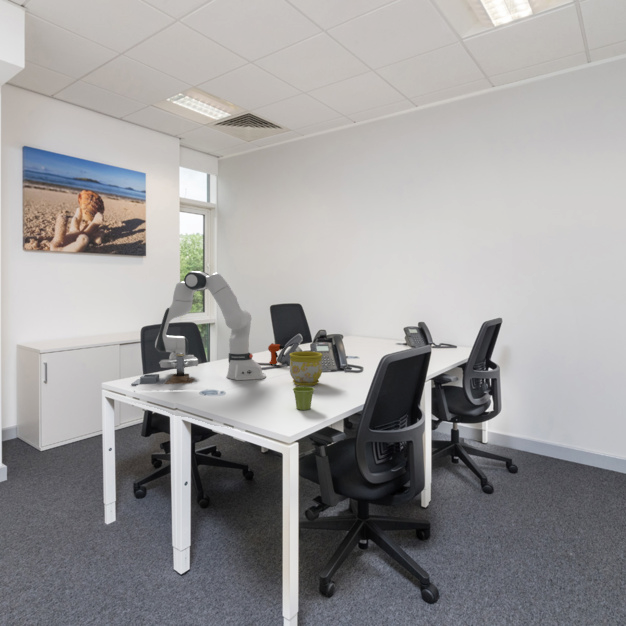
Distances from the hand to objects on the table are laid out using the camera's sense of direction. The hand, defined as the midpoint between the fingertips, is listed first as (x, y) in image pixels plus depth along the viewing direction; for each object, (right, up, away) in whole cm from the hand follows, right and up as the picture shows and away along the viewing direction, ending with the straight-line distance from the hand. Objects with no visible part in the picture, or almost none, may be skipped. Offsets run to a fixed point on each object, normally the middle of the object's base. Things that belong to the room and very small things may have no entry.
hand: (180, 365), depth 234 cm
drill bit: (0, -8, +1) cm, 9 cm away
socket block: (-1, -10, +1) cm, 10 cm away
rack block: (-16, -10, -1) cm, 19 cm away
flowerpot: (+68, -10, +2) cm, 69 cm away
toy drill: (+49, -7, +55) cm, 74 cm away
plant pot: (+68, -13, -47) cm, 83 cm away
